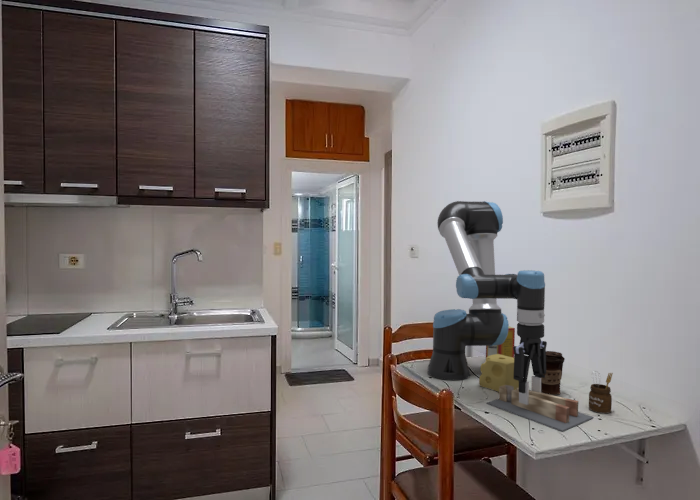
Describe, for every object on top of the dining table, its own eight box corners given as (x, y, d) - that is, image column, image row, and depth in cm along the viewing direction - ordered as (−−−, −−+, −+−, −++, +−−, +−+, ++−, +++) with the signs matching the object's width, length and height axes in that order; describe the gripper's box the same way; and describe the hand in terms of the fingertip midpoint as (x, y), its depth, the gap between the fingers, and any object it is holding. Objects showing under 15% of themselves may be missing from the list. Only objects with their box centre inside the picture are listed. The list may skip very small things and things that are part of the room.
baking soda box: (513, 368, 177) (514, 327, 177) (498, 369, 176) (499, 327, 175) (500, 361, 186) (500, 322, 186) (485, 362, 185) (486, 323, 184)
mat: (486, 403, 139) (486, 402, 139) (518, 393, 148) (518, 392, 148) (562, 431, 119) (562, 430, 119) (593, 418, 129) (593, 416, 128)
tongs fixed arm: (498, 399, 141) (498, 385, 141) (505, 397, 143) (505, 383, 143) (565, 423, 124) (566, 407, 124) (572, 420, 126) (573, 404, 126)
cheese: (478, 386, 155) (479, 357, 155) (497, 380, 162) (498, 352, 161) (505, 395, 147) (506, 364, 147) (524, 388, 153) (525, 359, 153)
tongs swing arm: (515, 401, 139) (516, 388, 139) (517, 400, 140) (518, 387, 140) (576, 416, 128) (576, 402, 128) (578, 415, 129) (578, 401, 129)
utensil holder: (598, 405, 139) (599, 366, 138) (617, 412, 133) (618, 371, 133) (583, 407, 137) (584, 367, 136) (601, 415, 131) (603, 373, 130)
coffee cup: (567, 398, 145) (568, 357, 144) (539, 395, 146) (540, 355, 146) (560, 389, 153) (561, 350, 153) (533, 387, 155) (534, 349, 154)
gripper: (523, 329, 126) (522, 412, 127) (559, 321, 137) (559, 397, 138) (500, 324, 133) (499, 404, 133) (536, 317, 143) (536, 391, 144)
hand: (530, 400), depth 136 cm, fingers open, 6 cm apart
